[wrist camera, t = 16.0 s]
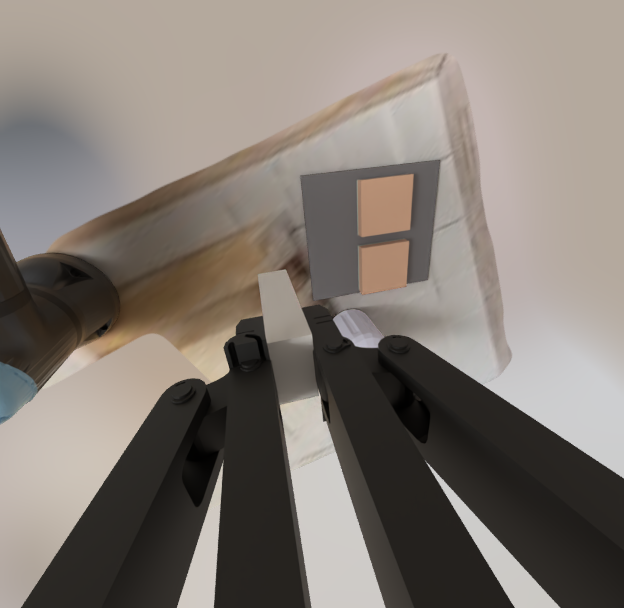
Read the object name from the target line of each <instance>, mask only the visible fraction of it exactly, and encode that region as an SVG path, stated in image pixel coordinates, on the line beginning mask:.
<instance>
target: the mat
mask: <svg viewBox="0 0 624 608" xmlns="http://www.w3.org/2000/svg"><path fill="white" fill-rule="evenodd" d="M439 163H440V160H435V161H426V162H417V163H409V164H400V165H391V166H382V167H374V168H365V169H356V170H347V171H339V172H330V173H321V174H313V175H304V176H300V177H301V186H302V196H303V206H304V216H305V225H306V235H307V245H308V255H309V264H310V274H311V284H312V294H313V300H314V301H315V300H320V299H326V298H331V297H337V296H342V295H348V294H353V293H359V292H360V291H359V280H358V246H359V245H365V244H372V243H378V242H384V241H391V240H397V239H406V240H408V241H409V253H408V268H407V283H406V284H408V283H414V282H419V281H425V280H428V271H429V261H430V251H431V241H432V232H433V222H434V212H435V202H436V193H437V183H438V173H439ZM401 174H414V177H413V192H412V207H411V222H410V230H406V231H399V232H393V233H386V234H380V235H373V236H366V237H361V236H359V235H358V227H357V180H359V179H368V178H376V177H384V176H393V175H401Z"/></svg>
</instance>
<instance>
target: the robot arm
mask: <svg viewBox="0 0 624 608" xmlns="http://www.w3.org/2000/svg"><path fill="white" fill-rule="evenodd" d="M258 280H259V288H260V296H261V304H262V312H263V316H259V317H254V318H249V319H243V320H241V321H240V322H239V324H238V325H237V326H236V336H234V337H232V338H230V339H229V340H228V341H227V342H226V343H225V346H224V351H225V355H226V358H227V362H228V365H229V368H230V370H229V373H228V374H226V375H225V376H224V377H222V378H220V379H219V380H217V381H214V382H212V383H210V384H208V385H206V384H205V382H203V381H202V380H200V379H186V380H183V381H180V382H178V383H175V384H174V385H172V386H171V387H170V388H168V389H167V390H166V391H165V392H164V393H163V394H162V395H161V397H160V398H159V400H158V401H157V403H156V404H155V406H154V408H153V409H152V410H151V412H150V413H149V415H148V416H147V418H146V419H145V421H144V423H143V424H142V426H141V427H140V429H139V430H138V432H137V433H136V435H135V436H134V438H133V439H132V441H131V442H130V444H129V445H128V447H127V448H126V450H125V451H124V453H123V454H122V456H121V457H120V459H119V460H118V462H117V463H116V465H115V466H114V468H113V469H112V471H111V472H110V474H109V476H108V477H107V478H106V480H105V481H104V483H103V485H102V486H101V488H100V489H99V491H98V492H97V494H96V495H95V497H94V498H93V500H92V501H91V503H90V504H89V506H88V507H87V509H86V510H85V512H84V513H83V515H82V516H81V518H80V519H79V521H78V522H77V524H76V525H75V527H74V529H73V530H72V532H71V533H70V534H69V536H68V537H67V539H66V541H65V542H64V544H63V545H62V547H61V548H60V550H59V551H58V553H57V554H56V556H55V557H54V559H53V560H52V562H51V563H50V565H49V566H48V568H47V569H46V571H45V572H44V574H43V575H42V577H41V578H40V580H39V581H38V583H37V584H36V586H35V587H34V589H33V590H32V592H31V594H30V595H29V597H28V598H27V599H26V601H25V602H24V604H23V606H22V607H21V608H177V605H178V602H179V598H180V595H181V592H182V589H183V586H184V583H185V580H186V577H187V574H188V570H189V567H190V564H191V561H192V558H193V554H194V551H195V548H196V545H197V542H198V539H199V536H200V532H201V529H202V526H203V523H204V520H205V517H206V513H207V510H208V507H209V504H210V501H211V498H212V494H213V491H214V488H215V485H216V482H217V479H218V475H219V472H220V469H221V466H222V463H223V477H222V493H221V508H220V509H221V510H220V523H219V539H218V554H217V569H216V585H215V600H214V608H311V602H310V596H309V590H308V583H307V576H306V570H305V564H304V557H303V551H302V544H301V538H300V531H299V525H298V519H297V512H296V505H295V499H294V492H293V486H292V479H291V473H290V466H289V460H288V453H287V447H286V440H285V434H284V428H283V421H282V415H281V410H280V405H281V404H285V403H290V402H294V401H298V400H303V399H307V398H311V397H315V396H319V393H318V389H319V392H320V395H321V404H322V413H323V422H324V421H327V425H328V428H329V431H330V434H331V437H332V440H333V443H334V447H335V450H336V453H337V456H338V459H339V462H340V465H341V469H342V472H343V475H344V478H345V481H346V484H347V487H348V491H349V494H350V497H351V500H352V503H353V506H354V509H355V513H356V516H357V519H358V522H359V525H360V528H361V531H362V534H363V538H364V540H365V544H366V547H367V550H368V553H369V556H370V560H371V563H372V566H373V569H374V572H375V575H376V579H377V582H378V585H379V588H380V591H381V594H382V597H383V600H384V604H385V607H386V608H515V607H514V606H513V604H512V603H511V601H510V600H509V598H508V596H507V595H506V593H505V592H504V590H503V588H502V586H501V585H500V583H499V581H498V580H497V578H496V577H495V575H494V573H493V572H492V570H491V568H490V567H489V565H488V564H487V562H486V560H485V559H484V557H483V555H482V554H481V552H480V550H479V549H478V547H477V545H476V544H475V542H474V541H473V539H472V537H471V535H470V534H469V532H468V531H467V529H466V527H465V526H464V524H463V522H462V521H461V519H460V517H459V516H458V514H457V513H456V511H455V510H454V508H453V506H452V505H451V503H450V501H449V499H448V498H447V496H446V494H445V493H444V492H443V489H442V488H441V486H440V485H439V483H438V481H437V480H436V478H435V476H434V475H433V473H432V472H431V470H430V468H429V467H428V465H427V463H428V464H429V465H430V466H431V467H432V468H433V469H434V470H435V471H436V473H437V474H438V475H439V476H440V477H441V478H442V479H443V480H444V481H445V482H446V483H447V485H448V486H449V487H450V488H451V489H452V490H453V491H454V492H455V493H456V494H457V495H458V497H459V498H460V499H461V500H462V501H463V502H464V503H465V504H466V505H467V506H468V507H469V509H470V510H471V511H472V512H473V513H474V514H475V515H476V516H477V517H478V518H479V519H480V521H481V522H482V523H483V524H484V525H485V526H486V527H487V528H488V529H489V530H490V531H491V532H492V534H493V535H494V536H495V537H496V538H497V539H498V540H499V541H500V542H501V543H502V544H503V546H504V547H505V548H506V549H507V550H508V551H509V552H510V553H511V554H512V555H513V556H514V558H515V559H516V560H517V561H518V562H519V563H520V564H521V565H522V566H523V567H524V569H525V570H526V571H527V572H528V573H529V574H530V575H531V576H532V577H533V578H534V579H535V580H536V582H537V583H538V584H539V585H540V586H541V587H542V588H543V589H544V590H545V591H546V592H547V594H548V595H549V596H550V597H551V598H552V599H553V600H554V601H555V602H556V603H557V604H558V606H559V607H560V608H624V478H622V477H620V476H619V475H618V474H616V473H615V472H613V471H612V470H610V469H608V468H607V467H606V466H604V465H602V464H601V463H599V462H598V461H596V460H595V459H593V458H592V457H590V456H589V455H587V454H586V453H584V452H583V451H581V450H580V449H578V448H577V447H575V446H574V445H572V444H571V443H569V442H568V441H566V440H564V439H563V438H561V437H560V436H559V435H557V434H556V433H554V432H553V431H551V430H549V429H548V428H546V427H545V426H544V425H542V424H540V423H539V422H537V421H536V420H534V419H533V418H531V417H530V416H528V415H527V414H525V413H524V412H522V411H521V410H519V409H518V408H516V407H515V406H513V405H511V404H510V403H509V402H507V401H506V400H504V399H503V398H501V397H499V396H498V395H497V394H495V393H494V392H492V391H490V390H489V389H487V388H486V387H485V386H483V385H482V384H480V383H478V382H477V381H475V380H474V379H472V378H471V377H469V376H468V375H466V374H465V373H463V372H462V371H460V370H459V369H457V368H456V367H454V366H453V365H451V364H450V363H448V362H447V361H445V360H444V359H442V358H441V357H439V356H438V355H436V354H435V353H433V352H432V351H430V350H429V349H427V348H426V347H424V346H423V345H421V344H420V343H418V342H416V341H415V340H413V339H411V338H409V337H406V336H401V335H391V336H387V337H384V338H383V339H381V340H380V342H379V343H378V348H364V347H357V346H355V345H354V343H353V342H352V341H351V340H350V339H348V338H346V337H344V336H342V334H341V332H340V331H339V329H338V327H337V326H336V324H335V322H334V321H333V319H332V317H331V316H330V313H329V312H328V310H327V309H326V308H325V307H323V306H321V305H315V306H309V307H304V308H301V306H300V303H299V301H298V298H297V296H296V293H295V291H294V288H293V286H292V283H291V281H290V278H289V276H288V273H287V271H286V269H285V270H279V271H273V272H267V273H261V274H258ZM119 311H120V301H119V297H118V294H117V291H116V289H115V287H114V286H113V284H112V283H111V282H110V280H109V279H108V278H107V277H106V276H105V275H104V274H103V273H102V272H101V271H99V270H98V269H97V268H95V267H94V266H92V265H91V264H89V263H87V262H85V261H83V260H80V259H78V258H75V257H72V256H68V255H63V254H55V253H44V254H38V255H33V256H30V257H27V258H25V259H23V260H20V261H18V262H16V261H15V259H14V257H13V255H12V253H11V250H10V249H9V246H8V244H7V242H6V240H5V238H4V236H3V234H2V231H1V229H0V424H2V423H4V422H5V421H7V420H8V419H10V418H11V417H12V416H13V415H14V414H15V413H16V412H17V411H18V410H19V409H21V408H22V407H23V406H24V405H25V404H26V403H28V402H29V401H31V400H32V399H33V397H35V395H36V394H37V393H38V391H39V390H40V389H41V388H42V387H43V386H44V384H45V383H46V382H47V381H48V380H49V379H50V378H51V376H52V375H53V374H54V373H55V372H56V371H57V370H58V368H59V367H60V366H61V365H62V364H63V363H64V361H65V360H66V359H67V358H68V357H69V356H70V355H71V353H72V352H73V351H74V350H75V349H78V348H80V347H82V346H84V345H87V344H89V343H91V342H93V341H95V340H97V339H99V338H100V337H102V336H103V335H104V334H105V333H107V331H108V330H109V329H110V328H111V327H112V326H113V324H114V323H115V321H116V320H117V318H118V315H119ZM424 459H425V460H424ZM223 460H224V462H223ZM425 461H426V462H427V463H426V462H425Z"/></svg>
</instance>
